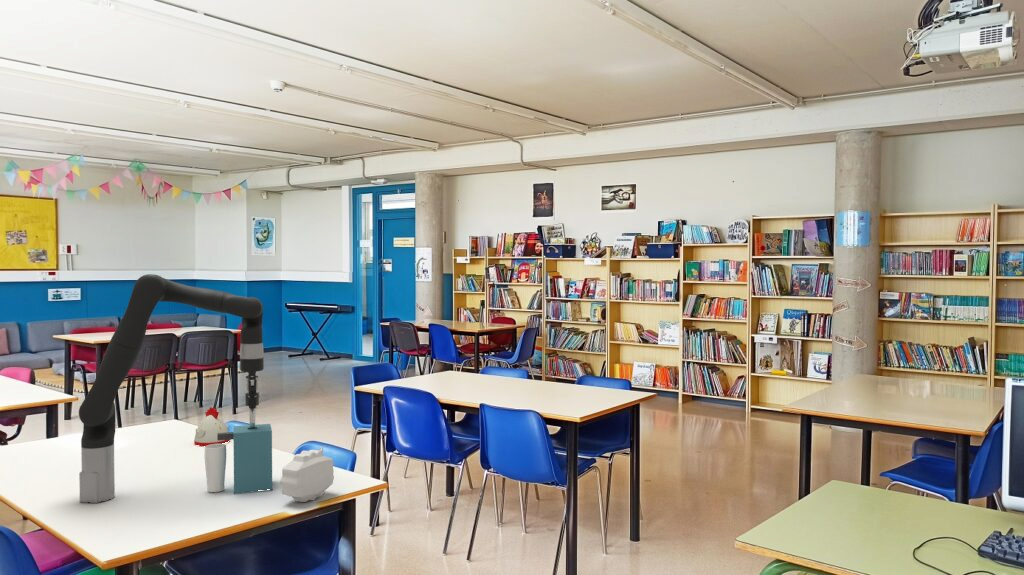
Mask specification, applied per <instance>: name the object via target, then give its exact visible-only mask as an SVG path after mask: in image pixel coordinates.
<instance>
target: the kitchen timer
mask: <svg viewBox="0 0 1024 575" xmlns="http://www.w3.org/2000/svg"><path fill="white" fill-rule="evenodd" d="M206 410H207V411H205V412H204V413H205V417H204V418H203V419H202V420H201V422H200V423H199V425H198V426H197V428H196V429H195V435H194V440H193V441H194V444H193V445H194V446H196V445H200V446H199V447H204V446H207V445H211V444H222V443H225V442H228V441H229V440H218V441H217V434H218V433H225V432H229V425H228V423H227V424H226V423H225V421H224V420H223V419H222V418H221V417H219V411H218V408H215V407H212V406H211V407H209V409H206ZM229 442H230V441H229Z"/></svg>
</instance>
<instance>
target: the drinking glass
mask: <svg viewBox="0 0 1024 575" xmlns="http://www.w3.org/2000/svg"><path fill="white" fill-rule="evenodd" d="M204 466H205V476H206V486H207V487H206V490H207V492H208V493H212V492H215V493H221V492H223V491H224V490H225V481H226V467H227V444H211V445H207V446H205V447H204Z"/></svg>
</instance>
